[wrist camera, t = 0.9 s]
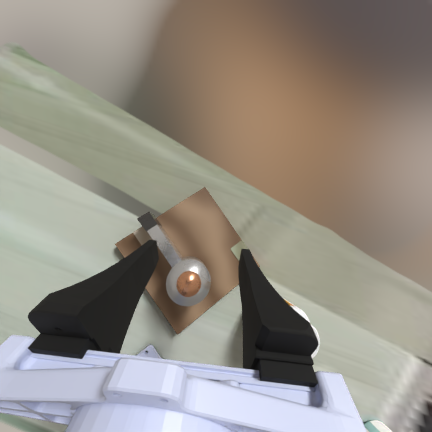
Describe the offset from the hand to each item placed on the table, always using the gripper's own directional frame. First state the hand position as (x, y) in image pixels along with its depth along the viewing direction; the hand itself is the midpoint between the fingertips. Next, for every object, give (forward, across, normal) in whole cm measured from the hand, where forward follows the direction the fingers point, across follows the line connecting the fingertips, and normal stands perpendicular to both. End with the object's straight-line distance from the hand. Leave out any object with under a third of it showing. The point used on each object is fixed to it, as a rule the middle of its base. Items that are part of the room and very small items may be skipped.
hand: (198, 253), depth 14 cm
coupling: (+8, +5, +8) cm, 12 cm away
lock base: (+10, +3, +10) cm, 14 cm away
